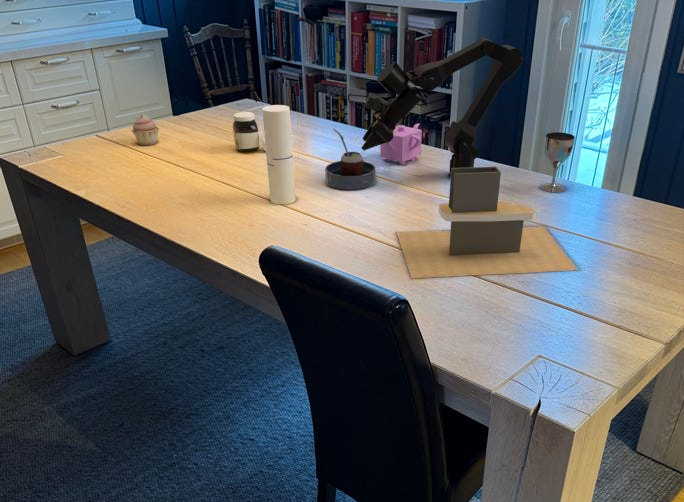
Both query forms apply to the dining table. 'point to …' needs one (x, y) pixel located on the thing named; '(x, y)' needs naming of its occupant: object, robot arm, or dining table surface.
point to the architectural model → (481, 234)
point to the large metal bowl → (350, 177)
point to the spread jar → (247, 133)
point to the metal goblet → (557, 155)
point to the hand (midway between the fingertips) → (363, 144)
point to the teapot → (402, 144)
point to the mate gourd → (350, 161)
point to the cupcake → (145, 131)
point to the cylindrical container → (279, 153)
